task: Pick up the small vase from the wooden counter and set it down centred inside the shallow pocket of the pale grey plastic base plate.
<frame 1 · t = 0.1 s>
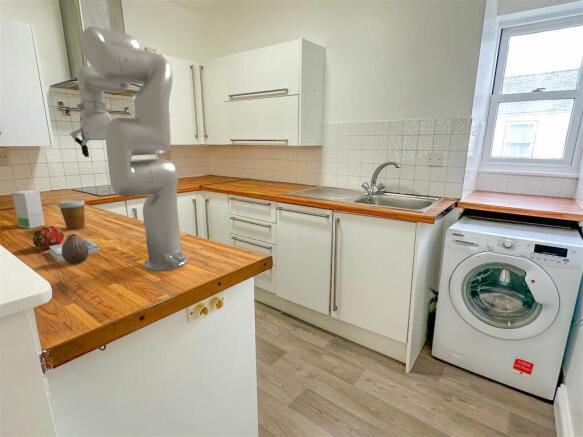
hand: (101, 156, 120), 31 cm above the worktop, tool pointing down, fingers open, 9 cm apart
skincare box: (32, 226, 144), on the worktop
vase: (77, 262, 101), on the worktop
disposable coffee cup: (76, 228, 139), on the worktop
baseplate: (74, 252, 109), on the worktop
dragon fruit: (51, 247, 115), on the worktop
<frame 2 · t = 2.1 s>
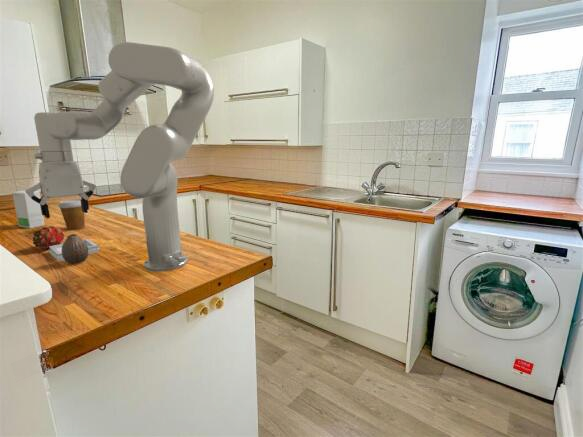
hand: (66, 214, 97), 15 cm above the worktop, tool pointing down, fingers open, 9 cm apart
nothing on the worktop moved.
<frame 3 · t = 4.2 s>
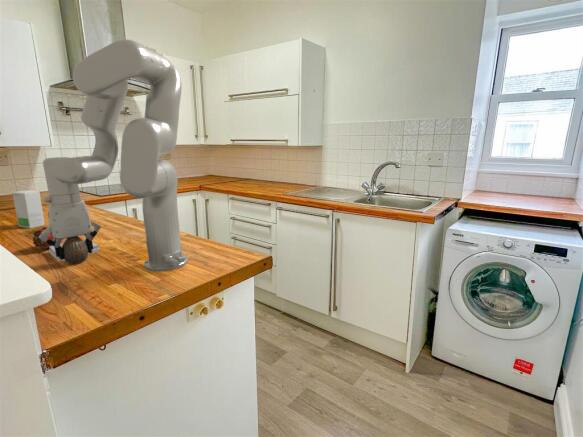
hand: (75, 254, 100), 2 cm above the worktop, tool pointing down, fingers closed on vase, 7 cm apart
vase: (77, 262, 101), on the worktop, touching gripper
everything else where it was.
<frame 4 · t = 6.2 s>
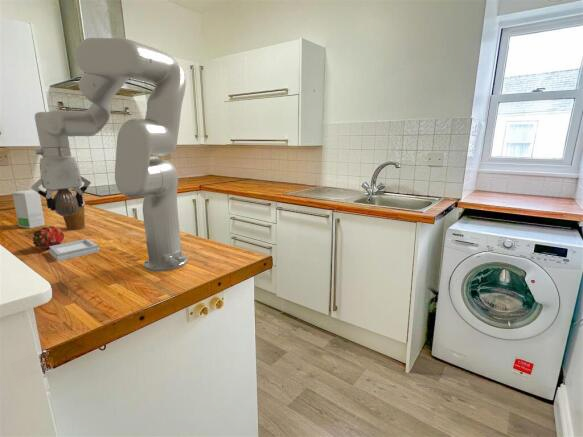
hand: (66, 207, 106), 15 cm above the worktop, tool pointing down, fingers closed on vase, 7 cm apart
vase: (67, 215, 106), point 13 cm above the worktop, touching gripper
everything else where it was.
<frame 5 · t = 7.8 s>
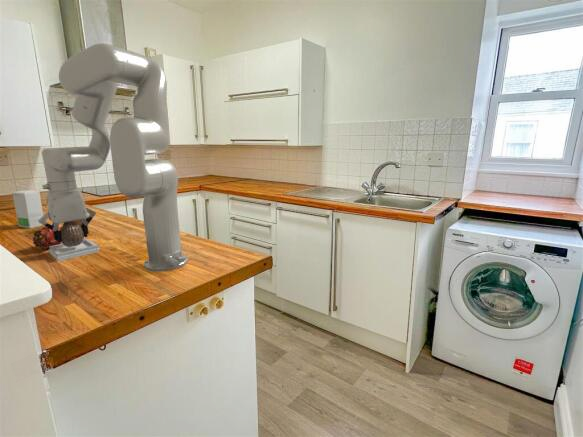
hand: (72, 238, 108), 5 cm above the worktop, tool pointing down, fingers closed on vase, 7 cm apart
vase: (73, 245, 109), point 2 cm above the worktop, touching gripper
everything else where it was.
when the fingers open (5 cm above the worktop, at t = 8.7 s): vase drops 1 cm, resting on baseplate.
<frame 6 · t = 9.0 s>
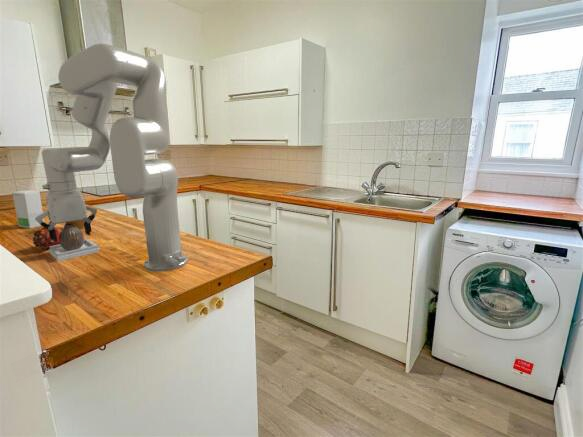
hand: (71, 237, 108), 5 cm above the worktop, tool pointing down, fingers open, 9 cm apart
vase: (73, 249, 109), point 1 cm above the worktop, touching baseplate
everything else where it was.
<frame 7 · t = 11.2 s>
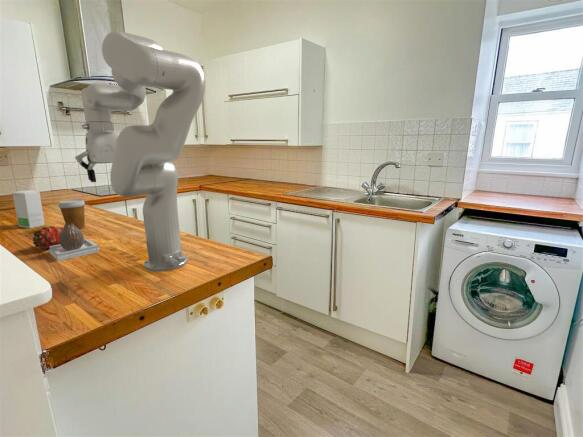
hand: (109, 180, 109), 24 cm above the worktop, tool pointing down, fingers open, 9 cm apart
nothing on the worktop moved.
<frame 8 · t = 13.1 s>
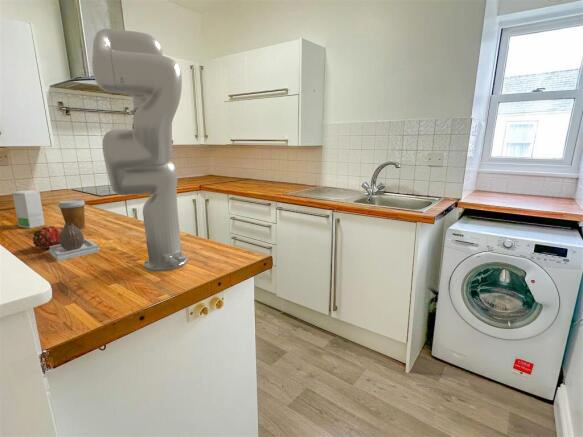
hand: (152, 164, 115), 28 cm above the worktop, tool pointing down, fingers open, 9 cm apart
nothing on the worktop moved.
at the end: vase 0.2 cm off-centre on the baseplate, point 1.0 cm above the baseplate's base; vase tilted 0°; the gripper is holding nothing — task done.
